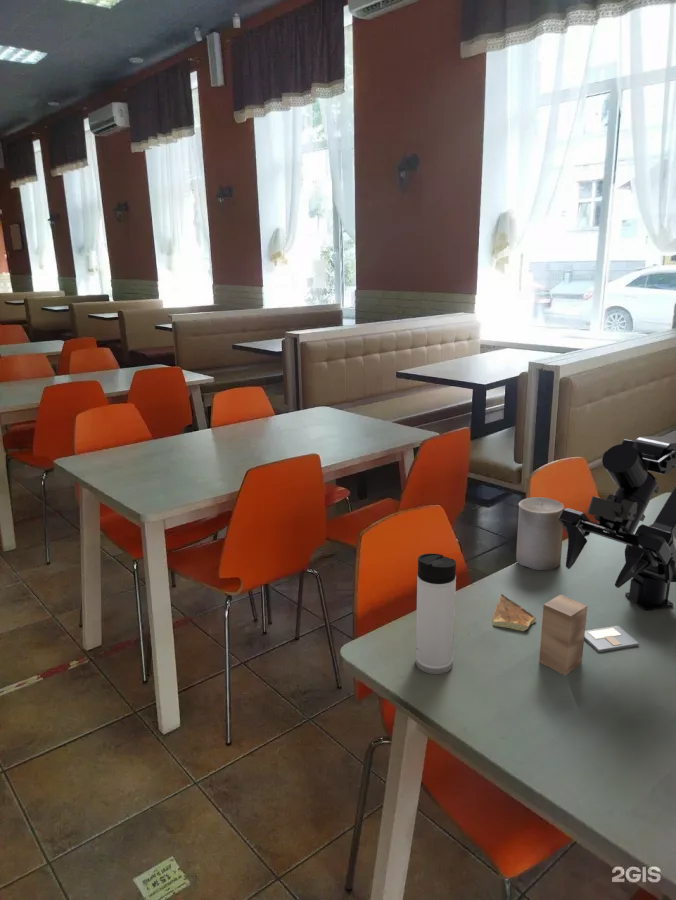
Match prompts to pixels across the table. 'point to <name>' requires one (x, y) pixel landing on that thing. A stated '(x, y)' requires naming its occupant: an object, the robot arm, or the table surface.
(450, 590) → the travel mug
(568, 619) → the walnut block
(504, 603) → the shard
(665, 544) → the robot arm
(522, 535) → the pillar candle
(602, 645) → the card
